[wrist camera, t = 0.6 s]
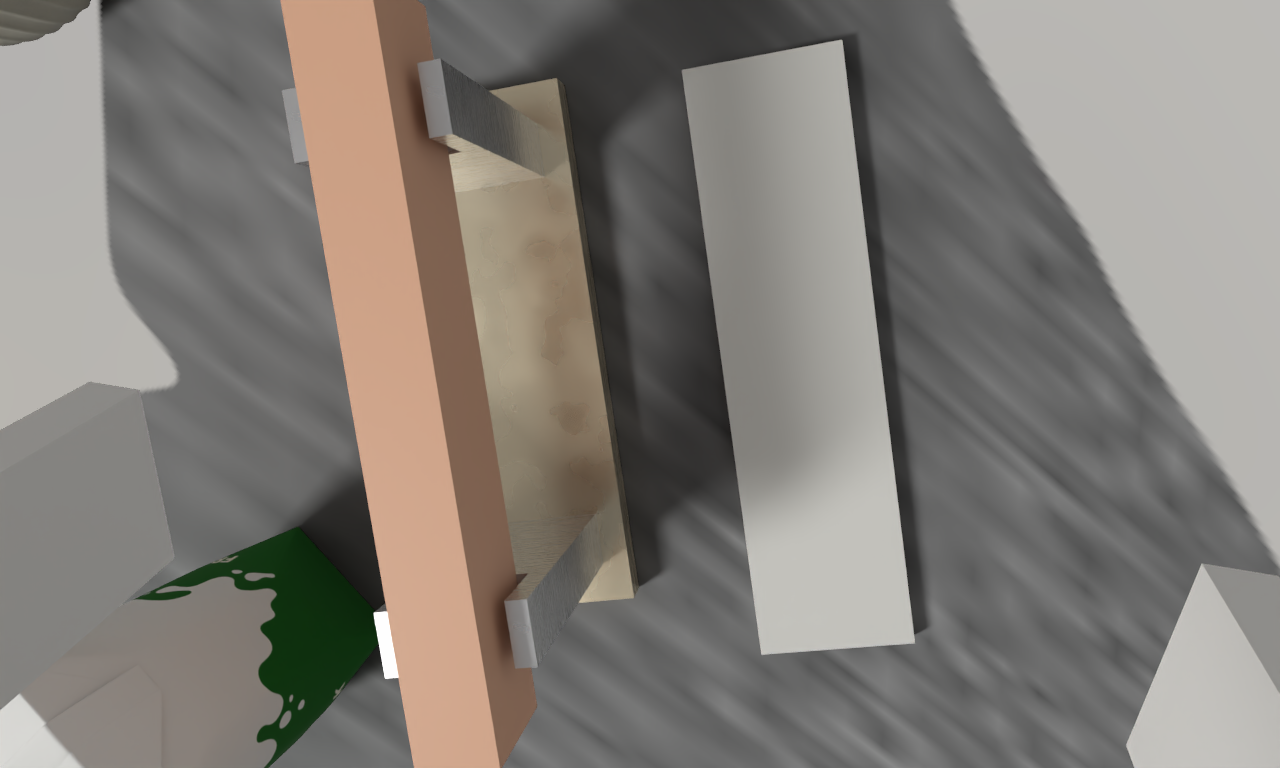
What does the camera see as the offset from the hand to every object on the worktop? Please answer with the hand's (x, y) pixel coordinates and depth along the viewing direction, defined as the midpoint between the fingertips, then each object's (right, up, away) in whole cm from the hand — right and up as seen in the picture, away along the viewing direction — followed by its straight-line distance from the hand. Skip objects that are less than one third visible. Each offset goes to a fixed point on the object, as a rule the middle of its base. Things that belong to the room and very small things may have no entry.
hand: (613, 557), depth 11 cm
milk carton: (-17, -10, +35) cm, 40 cm away
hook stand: (-5, +4, +31) cm, 32 cm away
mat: (+8, +3, +29) cm, 30 cm away
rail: (-7, +3, +21) cm, 23 cm away
